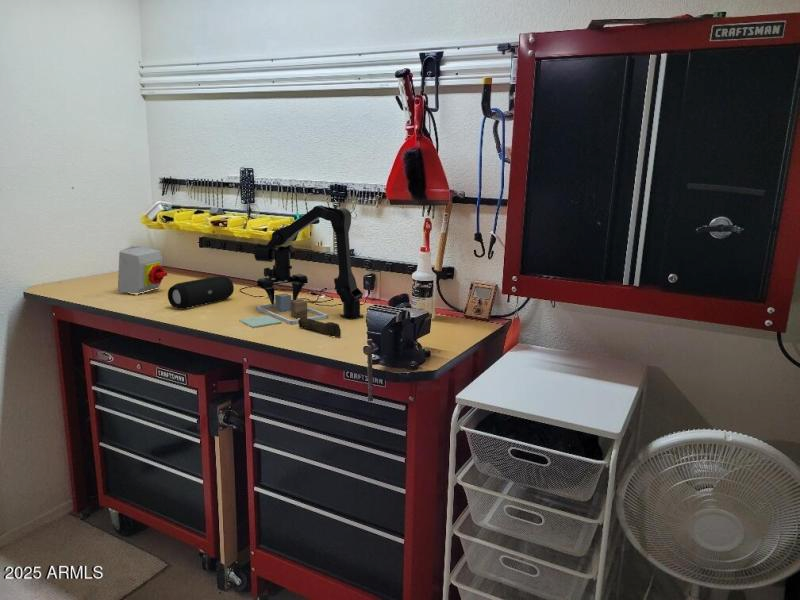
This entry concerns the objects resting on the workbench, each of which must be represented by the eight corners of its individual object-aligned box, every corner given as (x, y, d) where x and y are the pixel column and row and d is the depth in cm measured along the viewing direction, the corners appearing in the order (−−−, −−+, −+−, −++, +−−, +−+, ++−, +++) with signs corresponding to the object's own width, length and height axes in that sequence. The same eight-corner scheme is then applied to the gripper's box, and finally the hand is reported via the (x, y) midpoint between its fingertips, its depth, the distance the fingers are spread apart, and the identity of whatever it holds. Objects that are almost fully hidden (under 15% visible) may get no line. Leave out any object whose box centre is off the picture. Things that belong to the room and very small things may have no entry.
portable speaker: (183, 312, 222) (181, 286, 219) (166, 308, 227) (165, 282, 225) (235, 300, 243) (234, 276, 240) (219, 296, 248) (218, 273, 246)
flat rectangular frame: (328, 318, 216) (328, 315, 216) (290, 324, 207) (290, 321, 206) (291, 303, 237) (291, 300, 237) (255, 309, 227) (255, 306, 227)
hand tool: (297, 328, 203) (297, 315, 202) (306, 326, 206) (306, 313, 204) (333, 340, 190) (333, 326, 189) (343, 338, 193) (343, 324, 192)
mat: (281, 323, 208) (281, 321, 208) (252, 328, 201) (252, 326, 201) (267, 316, 216) (267, 315, 216) (239, 321, 210) (238, 319, 209)
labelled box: (291, 310, 226) (291, 295, 225) (281, 312, 223) (280, 296, 222) (285, 308, 229) (285, 293, 228) (275, 310, 227) (275, 294, 225)
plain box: (307, 317, 217) (307, 301, 216) (296, 319, 214) (296, 303, 213) (301, 314, 220) (301, 299, 219) (290, 316, 218) (290, 300, 216)
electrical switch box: (147, 301, 245) (150, 255, 240) (117, 294, 248) (119, 247, 243) (170, 294, 259) (172, 250, 254) (140, 287, 262) (143, 243, 257)
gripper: (294, 257, 234) (294, 296, 237) (250, 262, 223) (251, 302, 226) (308, 261, 226) (308, 301, 229) (263, 266, 214) (264, 307, 218)
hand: (283, 303), depth 226 cm, fingers open, 9 cm apart
